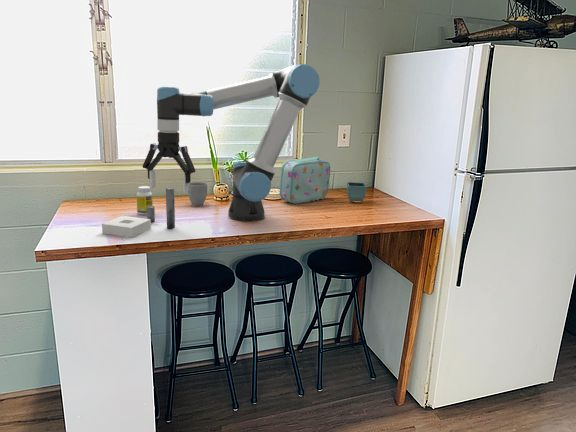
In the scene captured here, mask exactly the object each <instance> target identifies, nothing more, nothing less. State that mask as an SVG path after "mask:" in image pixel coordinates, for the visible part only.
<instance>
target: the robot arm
mask: <svg viewBox="0 0 576 432" xmlns="http://www.w3.org/2000/svg"><path fill="white" fill-rule="evenodd" d="M320 80H321V79H320V75H319V73H318V72H317V70H316V69H315V68H314V67H313V66H311V65H309V64H305V63H298V64H294V65H290V66H288V67H285V68H282V69H280V70H278V71H274V72H270V73H268V76H264V77H260V78H255V79H251V80H246V81H242V82H238V83H237V82H236V83H234V84H229V85H225V86H221V87H220V86H219V87H216V88H212V89H207V90H205V91H204V90H203V91H199V92H192V93H182V92H180V89H179V87H176V86H175V87H174V86H173V87H172V86H159V87H158V88H157V90H156V111H157V112H156V113H157V121H156V122H157V123H156V125H157V130H158V132H157V142H158V143H155V142H154V143H150V144H149V149H148V152H147V155H146V157H145V160H144V162H143V164H142V169H146V170H147V179H148V180H149V187H150V189H155V188H156V169H155V167H156V166H157V165H158V163H159V162H160V161H161V160H162V159H163V158H169V159H173V160H175V162H176V163H177V164H178V166H179V167H180V169H181V170H182V172H183V173H184V174H182V192H183V193H188V183H190V182H191V175H192V174H193V173H196V169H195V166H194V163H193V161H192V159H191V157H190V153H189V151H188V146H187V145H184V146H180V132H179V131H180V116H194V117H195V116H196V117H198V116H199V117H211V116H213V114H214V110H217V109H221V108H222V109H223V108H225V107H230V106H231V107H232V106H234V105H239V104H244V103H248V102H253V101H256V100H261V99H265V98H270V97H274V98H279V99H278V102H277V105H276V107H275V108H274V111H273V114H272V115H271V117H270V120H269V121H268V124H267V126H266V128H265V130H264V133H263V134H262V137H261V138H260V141H259V144H258V146H257V148H256V150H255V153H254V155H253V157H251V158H249V159H247V160H246V161H236V162H234V163H232V199H231V203H230V205H229V208H228V212H227V213H228V215H227V216H228V217H229V219H232V220H236V221H244V222H245V221H246V222H249V221H250V222H251V221H252V222H253V221H258V220H259V221H260V220H262V219H264V218H265V215H266V214H265V213H266V212H265V208H264V205H263V202H262V201H263V200H264V199H266V198H267V197H268V196H269V194H270V192H271V189H272V183H271V182H272V180H273V178H274V176H275V174H276V171H275V169H274V167H275V164H276V163H277V160H278V158H279V156H280V154H281V152H282V149H283V147H284V145H285V143H286V141H287V138H288V136H289V135H290V133H291V130H292V128H293V126H294V124H295V122H296V120H297V117H298V115H299V114H300V111H301V110H302V109H304V108H306V107H307V106H308V103H309V101H310V99H311V98H312V97H313V96H314V95H315V94H316V93H317V92H318V90H319V88H320V83H321V81H320ZM157 150H158V152H157ZM156 152H157V154H156ZM179 152H180V153H181V154H180V153H179ZM155 154H156V156H155V157H154V155H155ZM182 157H183V158H182ZM153 158H154V159H153Z"/></svg>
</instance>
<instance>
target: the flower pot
mask: <svg viewBox="0 0 576 432" xmlns="http://www.w3.org/2000/svg"><path fill="white" fill-rule="evenodd" d="M367 188H368V186H367V185H366V184H365V182H353V181H351V182H350V181H347V182H346V193H347V198H348V200H349V202H350V201H362V202H363V201H364V200H365V197H366V193H367Z"/></svg>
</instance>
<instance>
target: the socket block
mask: <svg viewBox="0 0 576 432" xmlns="http://www.w3.org/2000/svg"><path fill="white" fill-rule="evenodd" d="M101 228H102V229H101V230H102V231H101V232H102V234H104V233H105V234H106V235H111V234H113V236H118V235H119V237H124V238H126V237H127V238H134V237H136V236H138V235H140V234H143V233H145V232H147V231H148V230H151V229H152V223H151V219H147V218H143V217H135V216H134V217H133V216H126V215H121V216H118V217H116V218H113V219H110V220H109V221H108V220H107V221H106V222H103V223H101ZM105 234H104V235H105Z"/></svg>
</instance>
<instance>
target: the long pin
mask: <svg viewBox="0 0 576 432" xmlns="http://www.w3.org/2000/svg"><path fill="white" fill-rule="evenodd" d="M165 203H166V205H165V208H166V210H165V211H166V215H165V216H166V229H170V230H171V229H175V228H176V215H175V214H176V210H175V209H176V207H175V206H176V205H175V188H174V187H166V188H165Z"/></svg>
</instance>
